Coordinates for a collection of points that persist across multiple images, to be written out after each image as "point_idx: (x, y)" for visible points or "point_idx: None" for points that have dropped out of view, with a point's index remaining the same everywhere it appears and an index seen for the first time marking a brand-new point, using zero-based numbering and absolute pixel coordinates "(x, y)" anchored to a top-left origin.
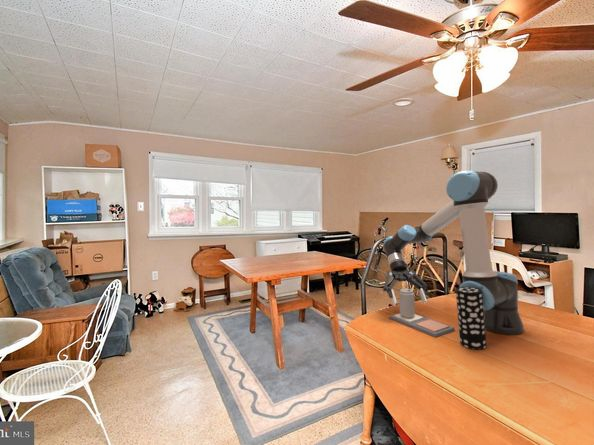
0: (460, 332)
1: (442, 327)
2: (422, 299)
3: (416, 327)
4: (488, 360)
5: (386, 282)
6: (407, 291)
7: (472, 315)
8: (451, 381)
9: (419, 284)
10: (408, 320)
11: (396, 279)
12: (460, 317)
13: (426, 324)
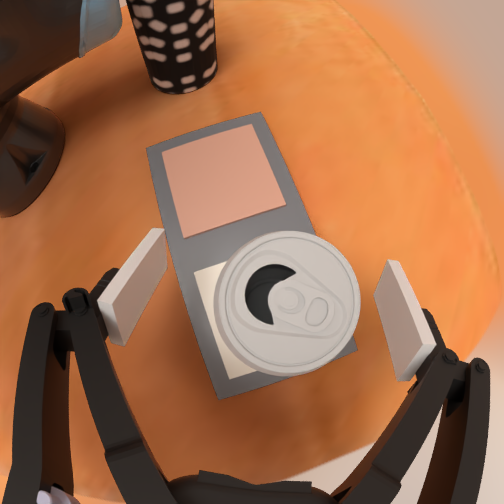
0: (214, 45)
1: (195, 145)
2: (155, 281)
3: (294, 186)
4: (218, 26)
5: (481, 416)
6: (301, 263)
7: None
8: (338, 10)
9: (86, 342)
10: None
11: (373, 467)
12: (213, 1)
13: (240, 184)
